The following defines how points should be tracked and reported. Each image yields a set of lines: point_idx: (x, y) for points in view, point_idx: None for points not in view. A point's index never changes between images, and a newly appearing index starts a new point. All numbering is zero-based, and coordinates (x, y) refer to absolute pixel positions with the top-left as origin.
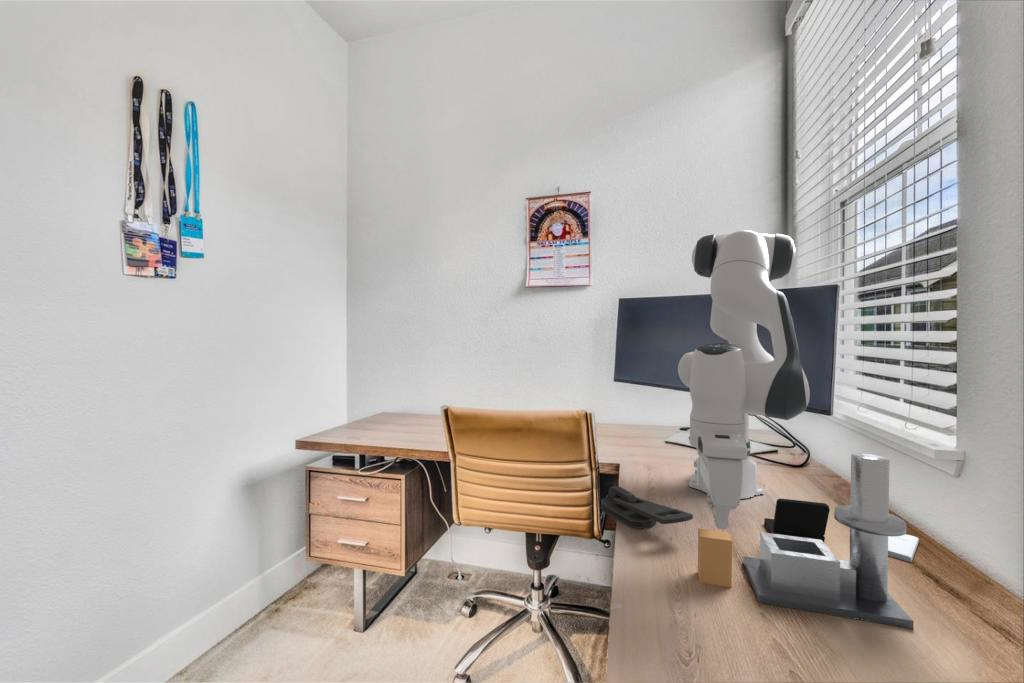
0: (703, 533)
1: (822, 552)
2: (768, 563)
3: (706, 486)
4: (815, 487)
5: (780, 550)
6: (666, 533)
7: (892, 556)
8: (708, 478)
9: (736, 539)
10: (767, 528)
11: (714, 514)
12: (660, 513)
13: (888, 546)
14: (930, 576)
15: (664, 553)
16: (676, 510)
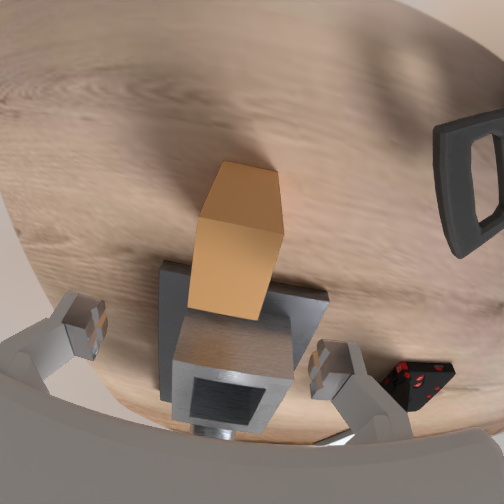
0: (231, 238)
1: (204, 419)
2: (208, 335)
3: (124, 443)
4: (492, 420)
5: (191, 377)
6: (480, 168)
7: (328, 438)
8: (11, 482)
9: (422, 312)
10: (436, 365)
11: (87, 326)
12: (501, 160)
13: (342, 444)
14: (284, 443)
15: (380, 113)
16: (501, 221)
